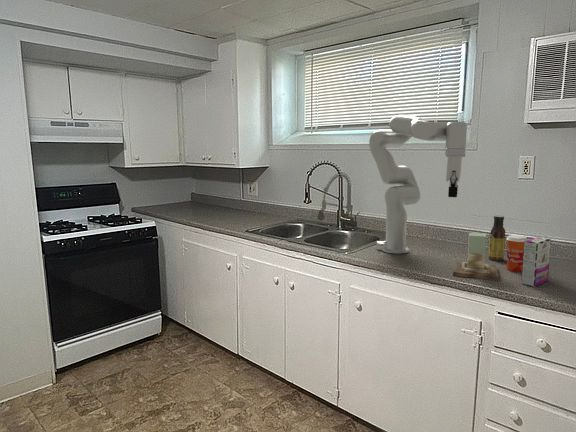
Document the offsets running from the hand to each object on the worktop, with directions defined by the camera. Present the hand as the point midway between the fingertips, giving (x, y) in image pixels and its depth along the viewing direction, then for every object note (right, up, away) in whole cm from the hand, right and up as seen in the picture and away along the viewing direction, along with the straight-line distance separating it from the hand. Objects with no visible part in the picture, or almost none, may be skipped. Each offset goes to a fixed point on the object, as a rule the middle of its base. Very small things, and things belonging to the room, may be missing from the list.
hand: (452, 195), depth 170 cm
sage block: (+8, -23, -3) cm, 24 cm away
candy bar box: (+24, -33, -15) cm, 44 cm away
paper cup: (+26, -31, +1) cm, 40 cm away
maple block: (+8, -29, -2) cm, 31 cm away
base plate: (+8, -31, -2) cm, 32 cm away
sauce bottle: (+26, -28, +17) cm, 42 cm away
